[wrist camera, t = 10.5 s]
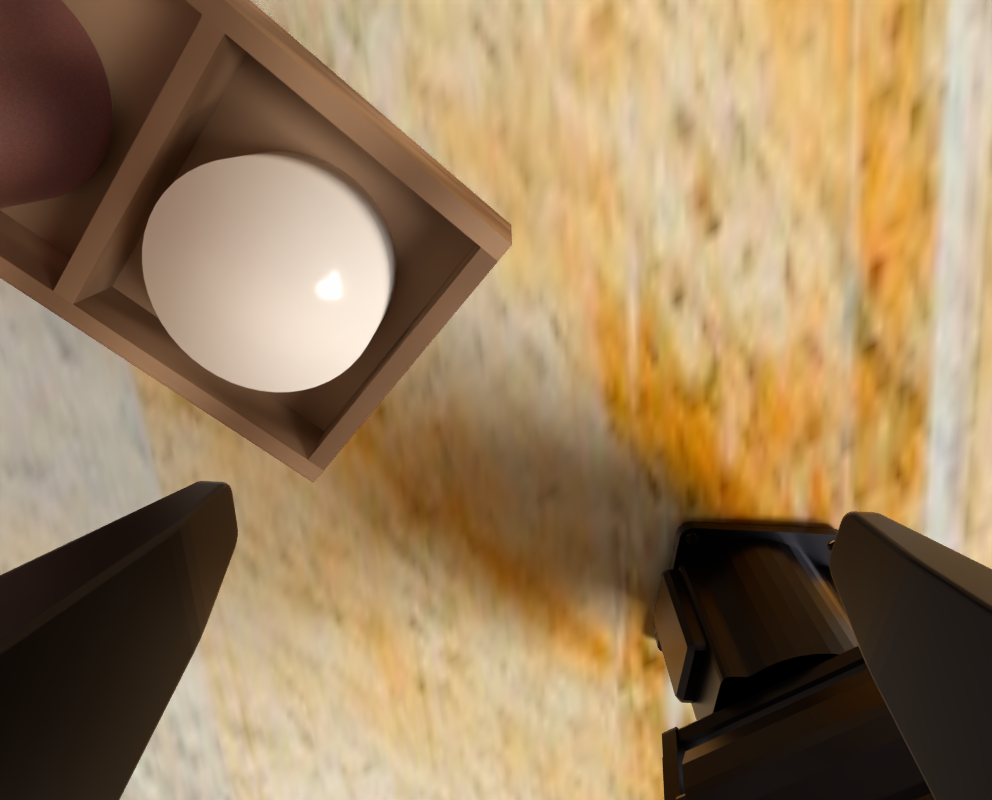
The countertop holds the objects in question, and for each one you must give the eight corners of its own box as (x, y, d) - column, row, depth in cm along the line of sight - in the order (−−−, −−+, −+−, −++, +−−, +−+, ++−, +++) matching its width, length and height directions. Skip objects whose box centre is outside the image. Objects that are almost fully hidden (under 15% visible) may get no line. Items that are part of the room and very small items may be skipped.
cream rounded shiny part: (395, 156, 18) (377, 164, 16) (399, 362, 21) (384, 397, 18) (174, 144, 18) (119, 151, 16) (205, 352, 21) (164, 386, 18)
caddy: (511, 225, 20) (511, 244, 17) (337, 436, 24) (313, 482, 21) (-38, -248, 16) (-163, -329, 13) (-159, 97, 19) (-279, 95, 16)
